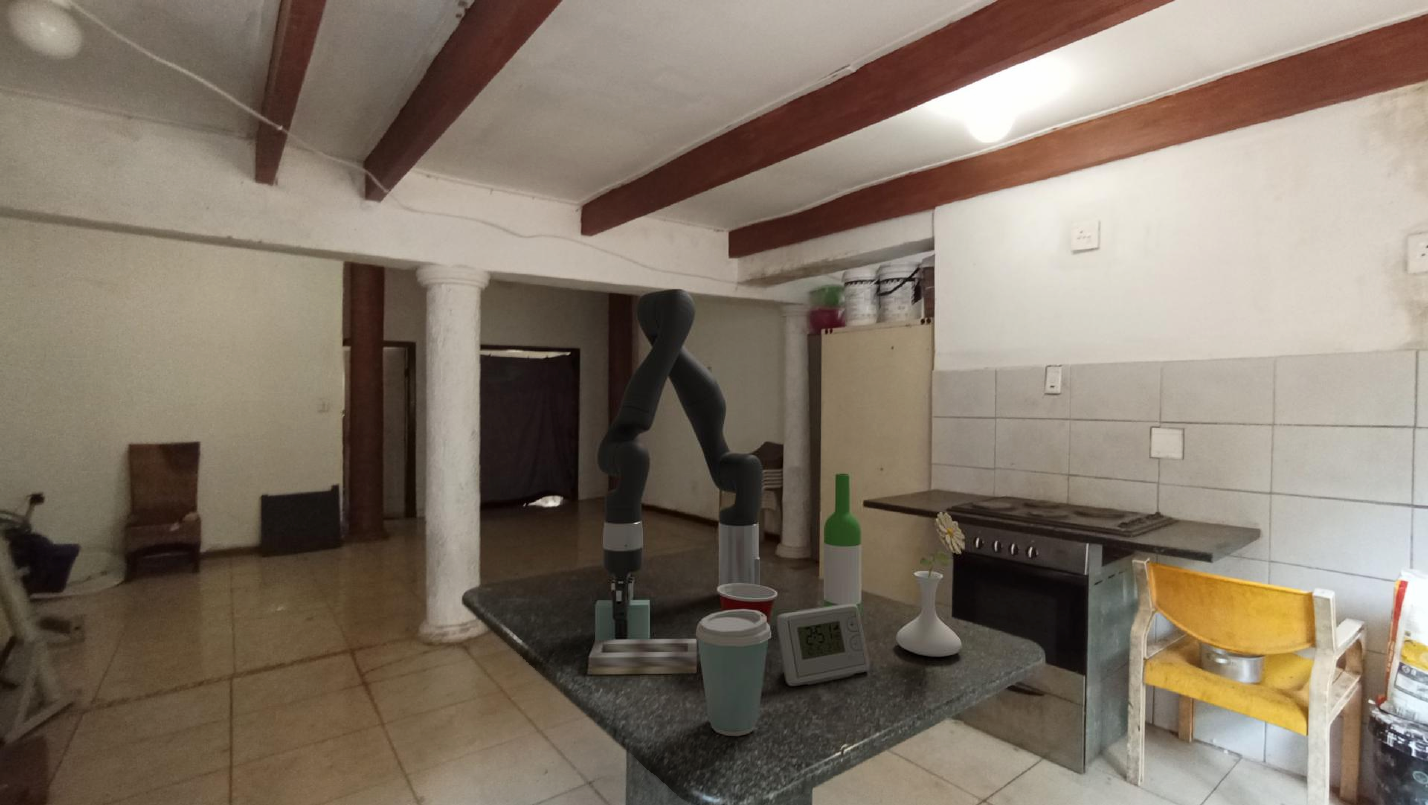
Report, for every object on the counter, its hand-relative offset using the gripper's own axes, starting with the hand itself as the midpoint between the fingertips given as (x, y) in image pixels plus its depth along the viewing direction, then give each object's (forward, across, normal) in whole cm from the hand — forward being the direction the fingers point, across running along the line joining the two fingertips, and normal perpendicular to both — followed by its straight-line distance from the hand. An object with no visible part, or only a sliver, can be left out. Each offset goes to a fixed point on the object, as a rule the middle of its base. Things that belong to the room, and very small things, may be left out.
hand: (622, 633), depth 121 cm
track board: (+1, -11, -5) cm, 12 cm away
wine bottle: (+1, +12, -45) cm, 47 cm away
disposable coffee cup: (+1, -33, -19) cm, 38 cm away
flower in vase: (+1, -7, -57) cm, 57 cm away
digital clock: (+1, -17, -35) cm, 39 cm away
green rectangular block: (+1, 0, 0) cm, 1 cm away
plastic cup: (+1, -9, -23) cm, 25 cm away
